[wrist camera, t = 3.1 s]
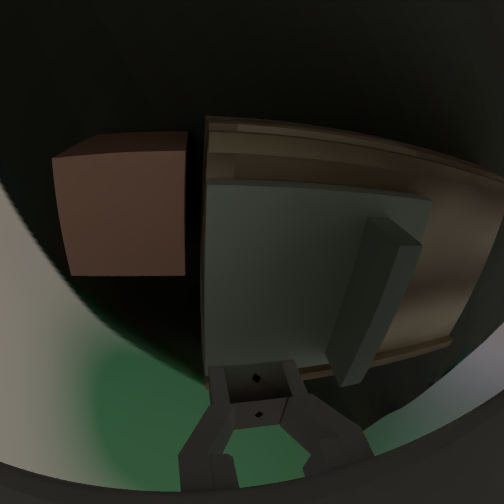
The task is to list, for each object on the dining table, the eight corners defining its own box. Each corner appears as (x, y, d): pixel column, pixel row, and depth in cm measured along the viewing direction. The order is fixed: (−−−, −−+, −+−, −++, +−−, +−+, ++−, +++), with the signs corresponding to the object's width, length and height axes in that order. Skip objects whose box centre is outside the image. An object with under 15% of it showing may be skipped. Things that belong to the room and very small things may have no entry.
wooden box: (205, 116, 13) (210, 124, 9) (478, 164, 16) (519, 185, 13) (201, 342, 19) (205, 391, 16) (422, 317, 23) (447, 348, 20)
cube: (95, 134, 12) (52, 158, 8) (188, 131, 13) (185, 151, 9) (101, 221, 14) (71, 275, 10) (186, 219, 15) (185, 275, 11)
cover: (205, 178, 10) (211, 212, 8) (423, 195, 13) (468, 224, 10) (204, 364, 15) (210, 414, 13) (366, 346, 17) (388, 384, 15)
